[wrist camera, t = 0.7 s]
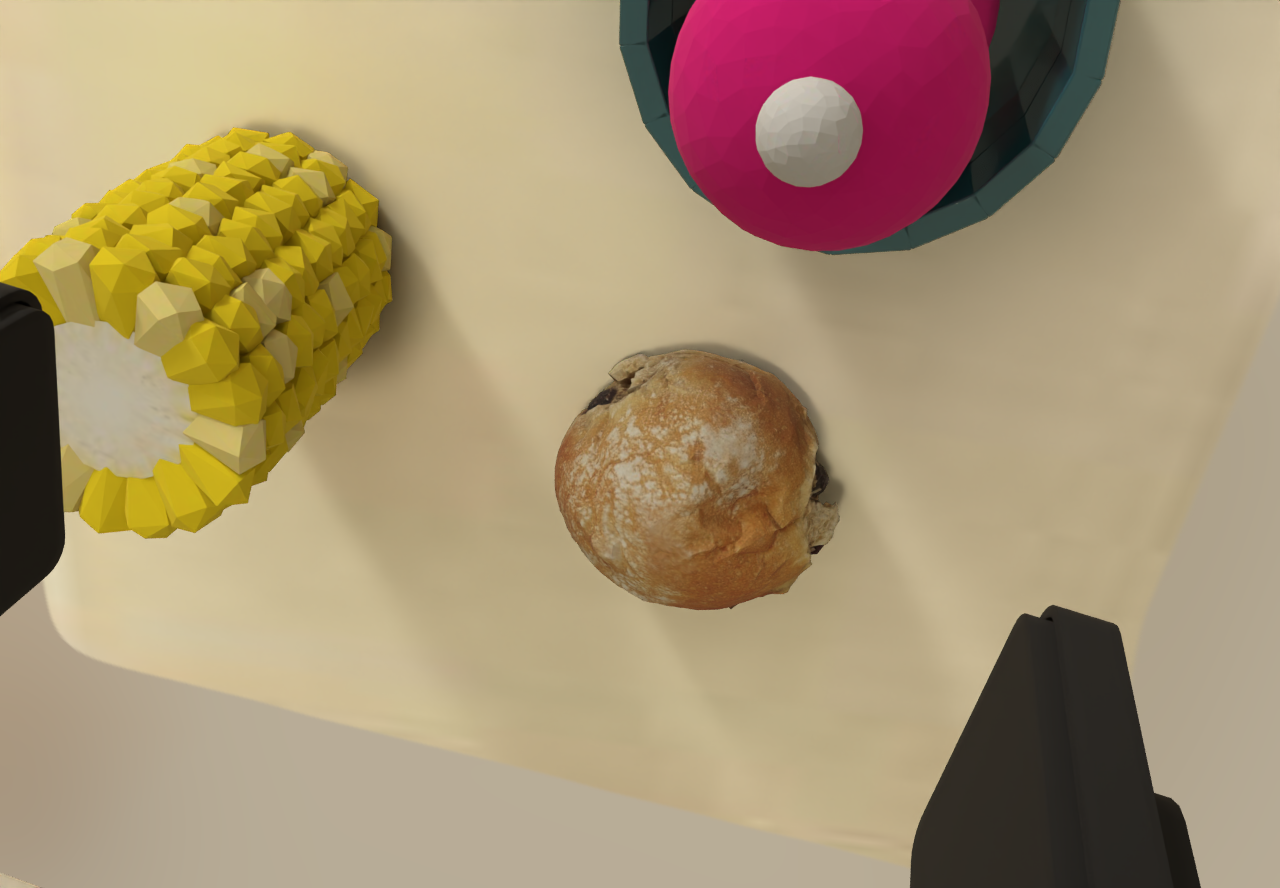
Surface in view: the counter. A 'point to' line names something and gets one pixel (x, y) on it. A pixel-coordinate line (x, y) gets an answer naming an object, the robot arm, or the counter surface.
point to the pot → (1016, 116)
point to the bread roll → (695, 481)
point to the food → (203, 324)
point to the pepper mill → (830, 111)
